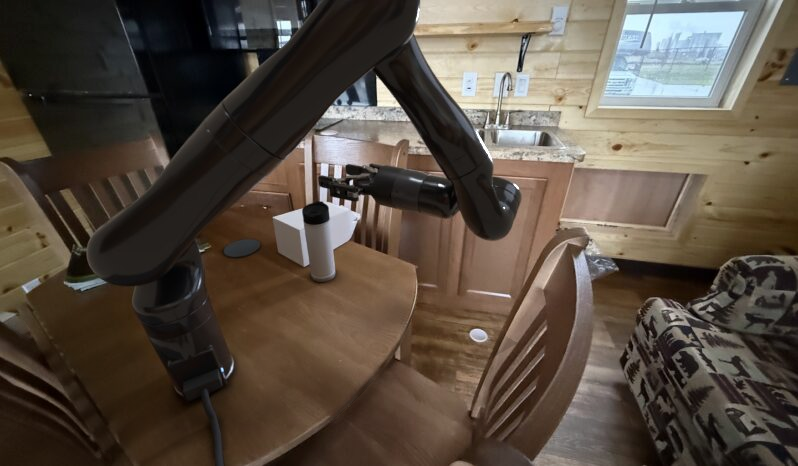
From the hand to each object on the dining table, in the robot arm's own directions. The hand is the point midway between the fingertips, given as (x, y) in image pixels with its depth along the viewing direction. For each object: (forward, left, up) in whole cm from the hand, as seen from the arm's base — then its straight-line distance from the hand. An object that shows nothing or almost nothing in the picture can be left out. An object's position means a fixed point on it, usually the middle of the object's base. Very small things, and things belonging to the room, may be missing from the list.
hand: (333, 174), depth 64 cm
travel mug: (+8, +2, -30) cm, 31 cm away
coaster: (+33, +19, -30) cm, 49 cm away
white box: (+20, +8, -24) cm, 33 cm away
